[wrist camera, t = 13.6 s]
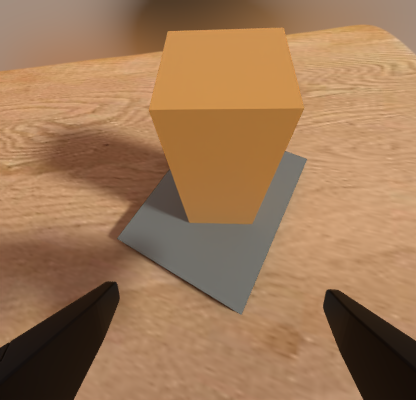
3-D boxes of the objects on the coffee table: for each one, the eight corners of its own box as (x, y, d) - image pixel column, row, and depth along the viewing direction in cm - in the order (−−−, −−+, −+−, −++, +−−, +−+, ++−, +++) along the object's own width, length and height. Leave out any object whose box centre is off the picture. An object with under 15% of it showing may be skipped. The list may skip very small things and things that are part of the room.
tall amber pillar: (252, 224, 18) (304, 108, 7) (189, 222, 18) (148, 109, 7) (248, 171, 20) (283, 27, 10) (193, 171, 21) (168, 31, 10)
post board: (240, 314, 16) (247, 318, 12) (121, 241, 19) (95, 225, 15) (303, 164, 22) (323, 133, 18) (206, 128, 25) (204, 94, 21)
